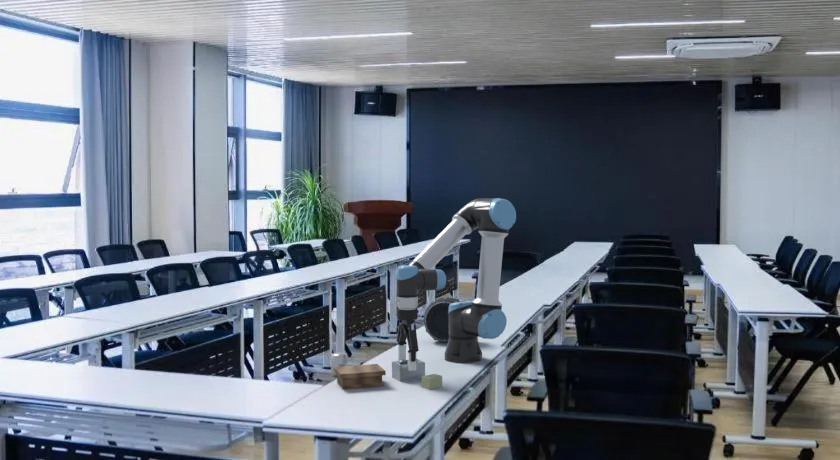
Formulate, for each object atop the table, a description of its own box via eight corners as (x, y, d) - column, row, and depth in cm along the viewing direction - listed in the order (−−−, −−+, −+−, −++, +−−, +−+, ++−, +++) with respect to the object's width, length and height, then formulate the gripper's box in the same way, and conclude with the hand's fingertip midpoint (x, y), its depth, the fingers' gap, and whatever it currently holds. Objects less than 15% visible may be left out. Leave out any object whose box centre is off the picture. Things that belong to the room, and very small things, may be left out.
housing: (416, 374, 310) (416, 356, 310) (425, 378, 304) (424, 360, 303) (392, 378, 306) (391, 359, 305) (400, 381, 299) (400, 363, 299)
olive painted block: (434, 385, 294) (434, 373, 294) (442, 387, 291) (442, 375, 291) (421, 387, 290) (421, 376, 290) (429, 389, 287) (429, 378, 287)
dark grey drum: (467, 345, 365) (466, 299, 364) (422, 343, 369) (421, 298, 368) (470, 340, 375) (470, 296, 374) (426, 339, 379) (426, 295, 378)
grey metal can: (345, 373, 313) (345, 352, 313) (349, 376, 308) (348, 355, 307) (329, 374, 312) (329, 353, 311) (332, 378, 306) (332, 356, 305)
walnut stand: (377, 378, 303) (377, 363, 303) (385, 386, 292) (385, 370, 292) (333, 382, 299) (333, 367, 299) (340, 390, 287) (340, 374, 287)
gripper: (388, 304, 314) (388, 360, 315) (406, 313, 290) (406, 374, 291) (407, 303, 316) (407, 359, 317) (427, 312, 292) (427, 372, 293)
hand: (407, 366), depth 304 cm, fingers open, 13 cm apart
